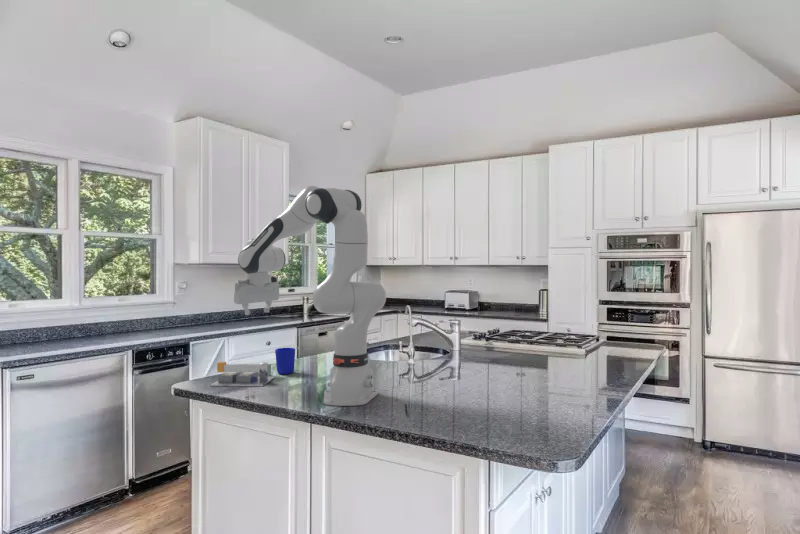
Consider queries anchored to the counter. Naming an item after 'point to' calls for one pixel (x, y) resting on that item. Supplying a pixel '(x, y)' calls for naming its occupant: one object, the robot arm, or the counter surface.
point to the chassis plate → (255, 383)
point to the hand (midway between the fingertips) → (257, 313)
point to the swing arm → (242, 367)
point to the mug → (285, 360)
